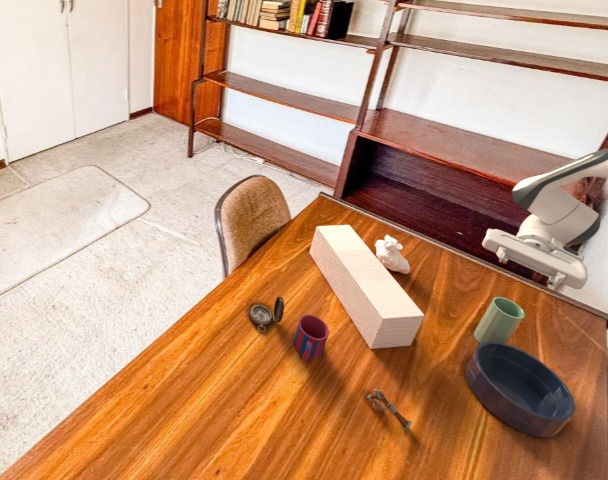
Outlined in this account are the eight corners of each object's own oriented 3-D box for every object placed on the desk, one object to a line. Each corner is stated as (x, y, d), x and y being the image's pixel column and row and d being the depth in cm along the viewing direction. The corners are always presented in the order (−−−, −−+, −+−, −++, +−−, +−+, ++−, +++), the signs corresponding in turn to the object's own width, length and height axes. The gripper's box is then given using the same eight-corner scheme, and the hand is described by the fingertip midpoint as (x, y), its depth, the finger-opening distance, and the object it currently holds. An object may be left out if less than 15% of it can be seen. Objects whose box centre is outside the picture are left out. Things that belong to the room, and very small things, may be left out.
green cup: (490, 329, 102) (510, 297, 97) (509, 352, 96) (531, 318, 91) (467, 329, 102) (486, 296, 97) (486, 352, 96) (506, 318, 91)
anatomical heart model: (370, 256, 127) (360, 238, 122) (389, 241, 127) (380, 223, 121) (400, 285, 117) (391, 267, 111) (421, 269, 117) (413, 251, 111)
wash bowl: (513, 359, 95) (525, 341, 92) (582, 438, 80) (599, 420, 77) (447, 359, 94) (457, 341, 91) (504, 438, 79) (518, 420, 77)
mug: (325, 343, 97) (332, 324, 94) (313, 376, 89) (320, 356, 86) (298, 328, 100) (304, 309, 97) (284, 358, 93) (290, 339, 90)
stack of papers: (410, 345, 97) (425, 315, 92) (370, 349, 96) (383, 318, 91) (340, 251, 126) (349, 224, 121) (309, 252, 125) (316, 226, 120)
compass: (248, 305, 106) (252, 285, 103) (278, 311, 105) (283, 291, 102) (248, 331, 99) (252, 311, 96) (280, 338, 98) (286, 318, 94)
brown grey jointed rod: (364, 390, 86) (378, 384, 83) (396, 425, 83) (412, 421, 80) (361, 396, 85) (376, 391, 82) (394, 432, 82) (410, 428, 79)
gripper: (493, 218, 114) (481, 239, 105) (593, 259, 100) (588, 287, 91) (484, 235, 116) (472, 257, 108) (581, 277, 102) (575, 306, 94)
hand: (526, 271), depth 99 cm, fingers open, 8 cm apart
